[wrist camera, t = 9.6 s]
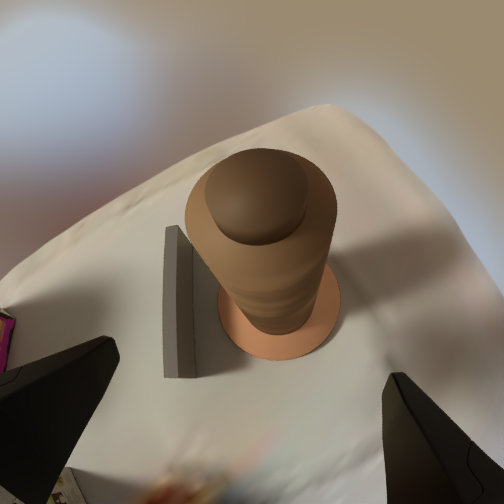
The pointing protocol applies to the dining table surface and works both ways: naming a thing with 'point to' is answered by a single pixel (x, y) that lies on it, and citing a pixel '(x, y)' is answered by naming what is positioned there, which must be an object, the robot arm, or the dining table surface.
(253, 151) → the walnut mill
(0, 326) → the candy bar box
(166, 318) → the grey flat bar
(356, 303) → the dining table surface
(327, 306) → the coaster
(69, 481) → the coffee box
